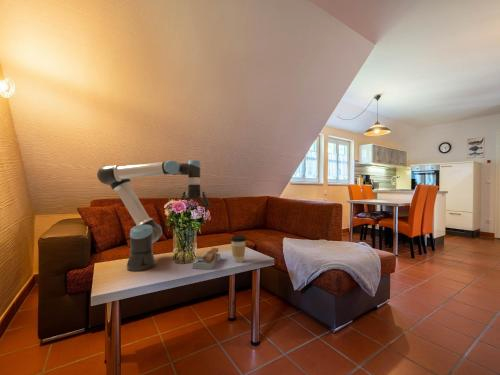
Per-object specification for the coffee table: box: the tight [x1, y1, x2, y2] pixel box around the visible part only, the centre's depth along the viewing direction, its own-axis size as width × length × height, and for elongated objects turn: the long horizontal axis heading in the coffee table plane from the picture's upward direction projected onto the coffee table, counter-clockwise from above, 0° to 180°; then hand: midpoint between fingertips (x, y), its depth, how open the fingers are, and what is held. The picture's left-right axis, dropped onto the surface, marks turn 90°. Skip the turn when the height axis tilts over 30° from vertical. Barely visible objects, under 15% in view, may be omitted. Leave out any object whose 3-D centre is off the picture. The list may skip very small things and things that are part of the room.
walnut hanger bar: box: [203, 247, 219, 264], centre depth 140 cm, size 5×19×7 cm, turn 173°
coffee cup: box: [230, 235, 247, 264], centre depth 145 cm, size 10×10×15 cm
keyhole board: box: [192, 252, 221, 270], centre depth 140 cm, size 11×20×3 cm, turn 173°
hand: (194, 217), depth 149 cm, fingers open, 13 cm apart
